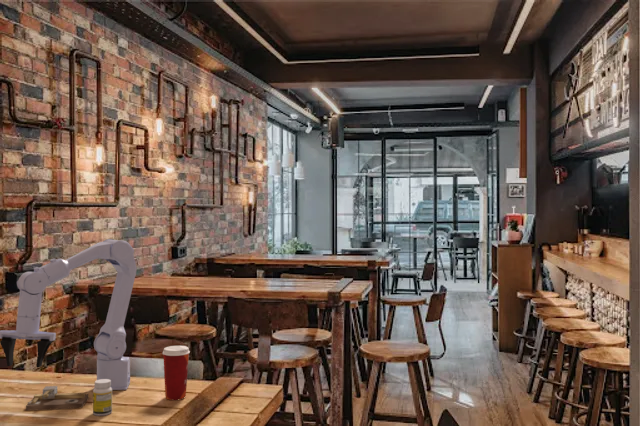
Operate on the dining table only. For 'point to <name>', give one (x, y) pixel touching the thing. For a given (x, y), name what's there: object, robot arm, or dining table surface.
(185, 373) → the paper cup
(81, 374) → the dining table surface
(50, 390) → the sliding leg
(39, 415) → the dining table surface
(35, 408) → the wooden mechanism board
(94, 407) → the supplement bottle
